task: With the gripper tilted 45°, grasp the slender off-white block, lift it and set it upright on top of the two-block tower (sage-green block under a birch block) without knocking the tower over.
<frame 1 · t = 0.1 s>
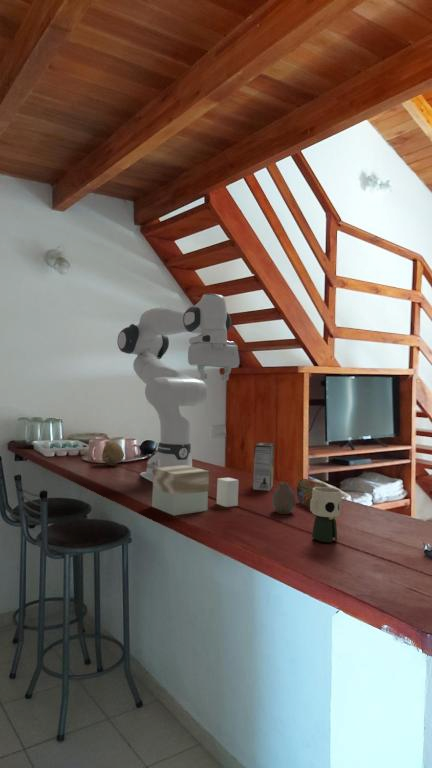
hand: (214, 379, 191), 39 cm above the breakfast bar, tool pointing down, fingers open, 8 cm apart
vase: (283, 513, 168), on the breakfast bar
tin: (312, 507, 177), on the breakfast bar
coffee box: (262, 488, 203), on the breakfast bar
offwhite block: (227, 504, 175), on the breakfast bar
tower top: (180, 489, 168), point 6 cm above the breakfast bar, touching tower base
tower base: (179, 509, 168), on the breakfast bar, touching tower top
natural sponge: (112, 466, 237), on the breakfast bar
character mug: (324, 541, 141), on the breakfast bar
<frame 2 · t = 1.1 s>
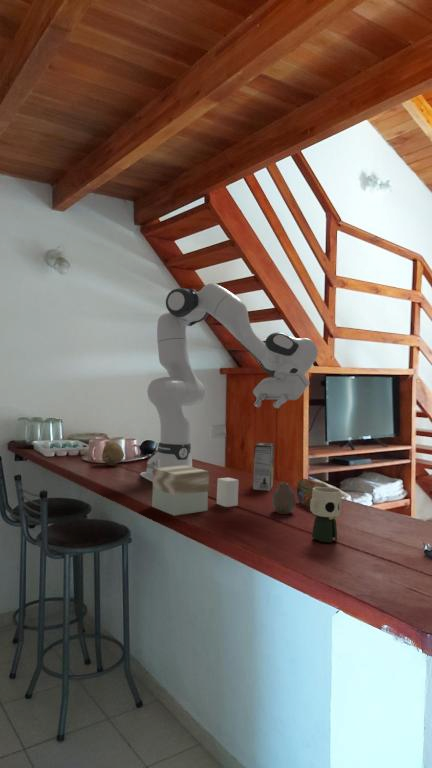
hand: (265, 406, 184), 31 cm above the breakfast bar, tool tilted 45°, fingers open, 8 cm apart
nothing on the breakfast bar moved.
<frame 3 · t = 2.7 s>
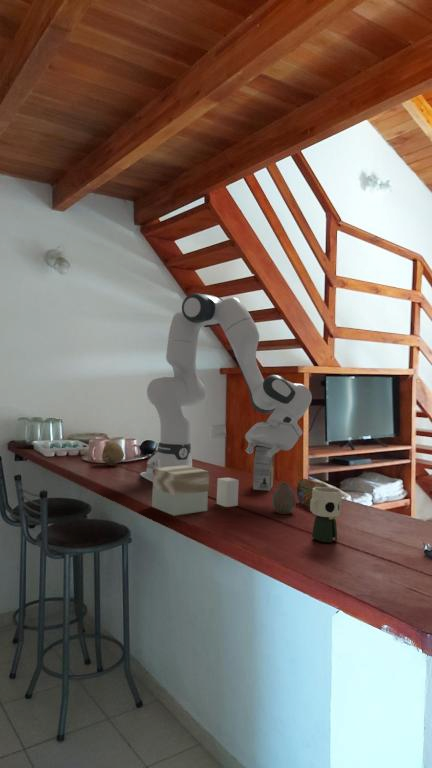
hand: (257, 454, 182), 15 cm above the breakfast bar, tool tilted 45°, fingers open, 8 cm apart
nothing on the breakfast bar moved.
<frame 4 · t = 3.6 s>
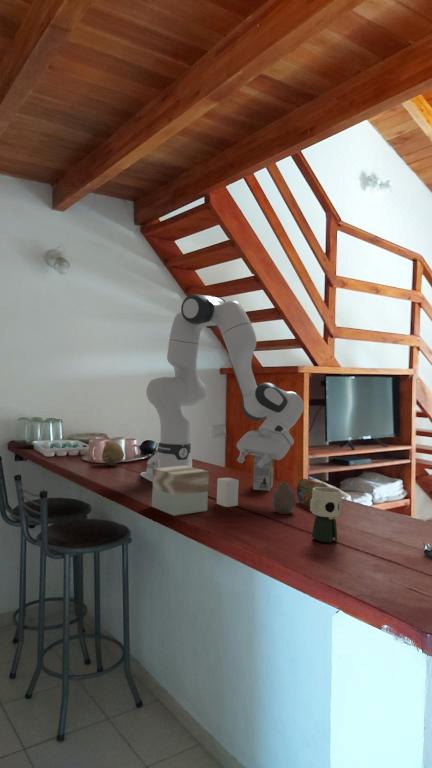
hand: (248, 463, 180), 12 cm above the breakfast bar, tool tilted 45°, fingers open, 8 cm apart
nothing on the breakfast bar moved.
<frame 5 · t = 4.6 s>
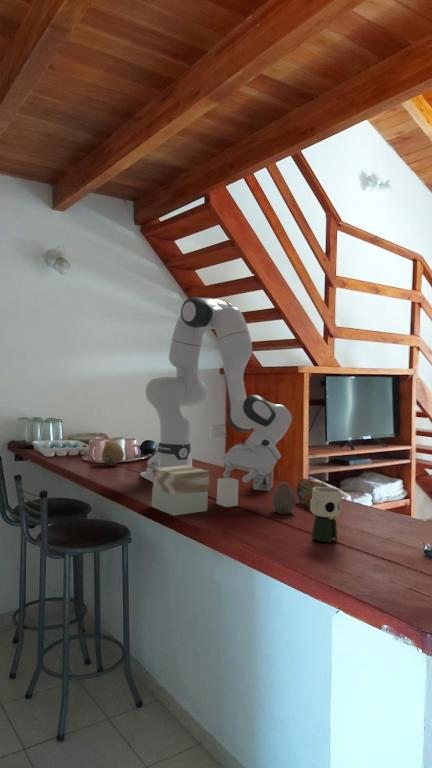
hand: (234, 478, 176), 8 cm above the breakfast bar, tool tilted 45°, fingers open, 8 cm apart
nothing on the breakfast bar moved.
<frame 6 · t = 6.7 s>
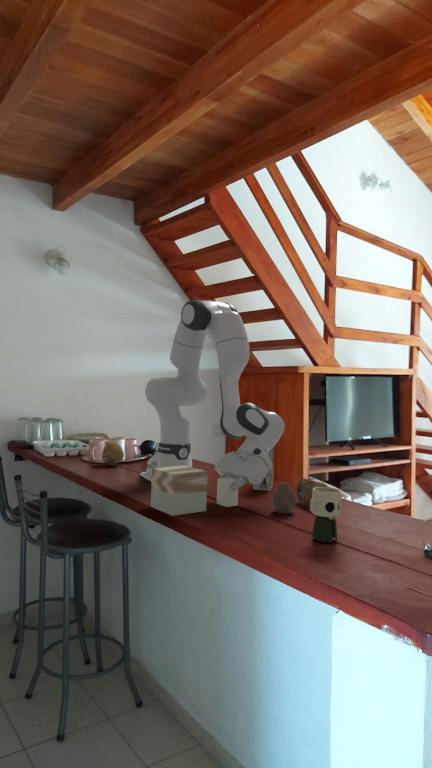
hand: (226, 487, 175), 5 cm above the breakfast bar, tool tilted 45°, fingers closed on offwhite block, 5 cm apart
offwhite block: (227, 504, 175), on the breakfast bar, touching gripper
everything else where it was.
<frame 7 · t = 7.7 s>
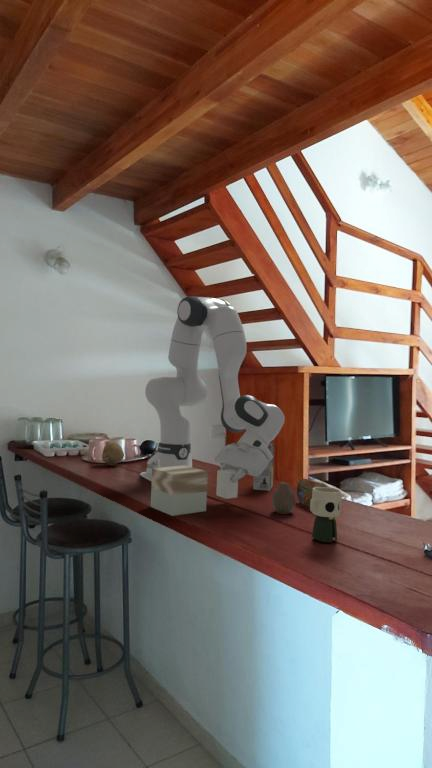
hand: (225, 479, 175), 8 cm above the breakfast bar, tool tilted 45°, fingers closed on offwhite block, 5 cm apart
offwhite block: (226, 496, 175), point 2 cm above the breakfast bar, touching gripper
everything else where it was.
when the fingers open (18 cm above the breakfast bar, at t = 14.5 s): offwhite block drops 1 cm, resting on tower top.
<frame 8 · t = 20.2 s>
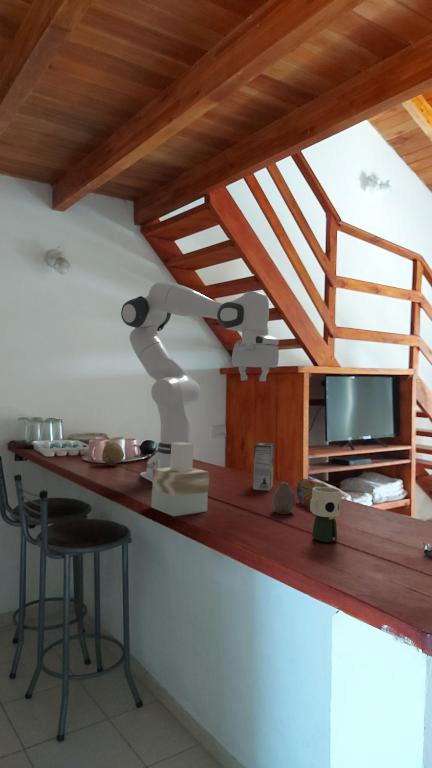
hand: (253, 380, 188), 39 cm above the breakfast bar, tool pointing down, fingers open, 8 cm apart
offwhite block: (181, 470, 167), point 12 cm above the breakfast bar, touching tower top
tower top: (180, 490, 167), point 6 cm above the breakfast bar, touching offwhite block, tower base
everything else where it was.
at the end: offwhite block 0.4 cm off-centre on the tower top, point 6.0 cm above the tower top's base; offwhite block tilted 1°; tower top moved 1.2 cm from its start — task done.
